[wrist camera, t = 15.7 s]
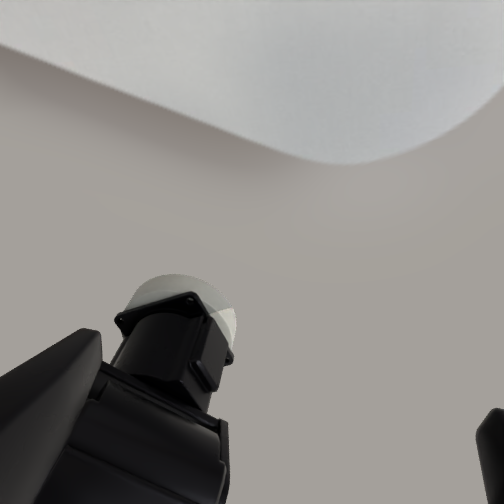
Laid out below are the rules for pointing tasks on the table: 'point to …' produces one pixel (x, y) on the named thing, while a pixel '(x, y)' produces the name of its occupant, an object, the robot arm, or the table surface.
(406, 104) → the table surface
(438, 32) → the table surface
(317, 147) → the table surface
